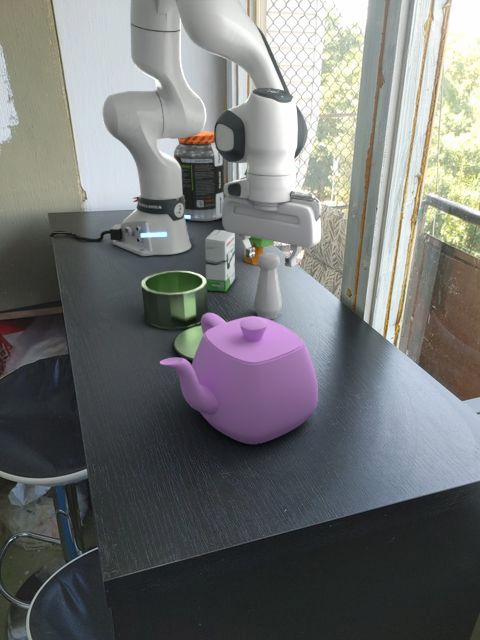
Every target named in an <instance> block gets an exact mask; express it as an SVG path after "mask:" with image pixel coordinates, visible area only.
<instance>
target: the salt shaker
mask: <svg viewBox="0 0 480 640" xmlns="http://www.w3.org/2000/svg"><path fill="white" fill-rule="evenodd" d="M280 263H281V259H280V256H279V255H277V254H276V253H274V252H273V253H272V252H263V254H261V255H260V256H259V258H258V265H257V266H258V267H259V268H260V271H259V276H258V281H257V285H256V286H257V287H256V290H255V291H256V292H255V297H254V301H253V309H254V310H255V313H256V314H257V317H262V318H266V319H269V320H276V318H277V317H278V315H279V313H280V312H281V310H282V306H283V301H282V294H281V287H280V280H279V275H278V268H279V267H280Z"/></svg>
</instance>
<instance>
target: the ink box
mask: <svg viewBox="0 0 480 640" xmlns="http://www.w3.org/2000/svg"><path fill="white" fill-rule="evenodd" d="M235 252H236V233H231V232H227V231H226V230H222V229H221V230H220V229H214V230H213V231H212V232H210V233H209V234H208V235H207V236H206V237H205V239H204V256H205V259H204V261H205V278H206V281H207V291H212V292H213V291H214V292H225V293H226V292H227V291H228V289H230V286H231V285H232V284H233V283H234V281H235V279H236V277H235V276H236V274H235V273H236V272H235V270H236V269H235V268H236V264H235V263H236V261H235V260H236V259H235V258H236V255H235V254H236V253H235Z"/></svg>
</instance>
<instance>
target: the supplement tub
mask: <svg viewBox="0 0 480 640" xmlns="http://www.w3.org/2000/svg"><path fill="white" fill-rule="evenodd" d="M177 142H178V145H176V147H175V148H174V150H173V158H174V159H176V160H177V161H178V163H179V164H180V167H181V172H182V192H183V195H184V198H185V213H184V215H190V219H189V218H185V220H186V221H195V222H210V221H216V220H219V219H222V206H223V200H224V198H225V197H226V195H225V193H224V185H225V159H224V158H223V157H222V156H221V155H220V153H219V152H218V150H217V149H216V146H215V140H214V131H203V130H202V131H201V133H199V134H197V135H193V136H190V137H186V138H178V139H177Z"/></svg>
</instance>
